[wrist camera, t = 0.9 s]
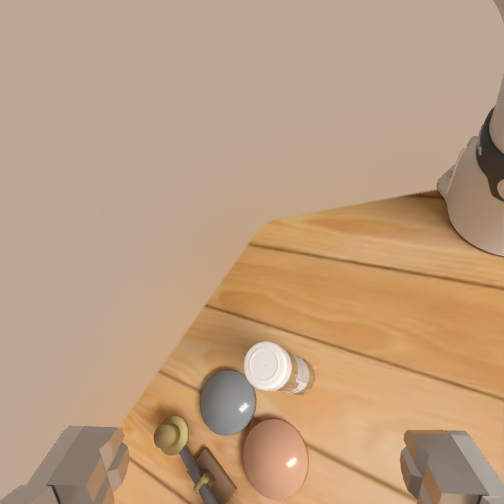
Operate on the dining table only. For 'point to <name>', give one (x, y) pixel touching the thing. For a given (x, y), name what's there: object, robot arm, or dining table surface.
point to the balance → (195, 462)
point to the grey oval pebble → (228, 402)
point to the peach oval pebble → (275, 459)
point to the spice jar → (277, 369)
